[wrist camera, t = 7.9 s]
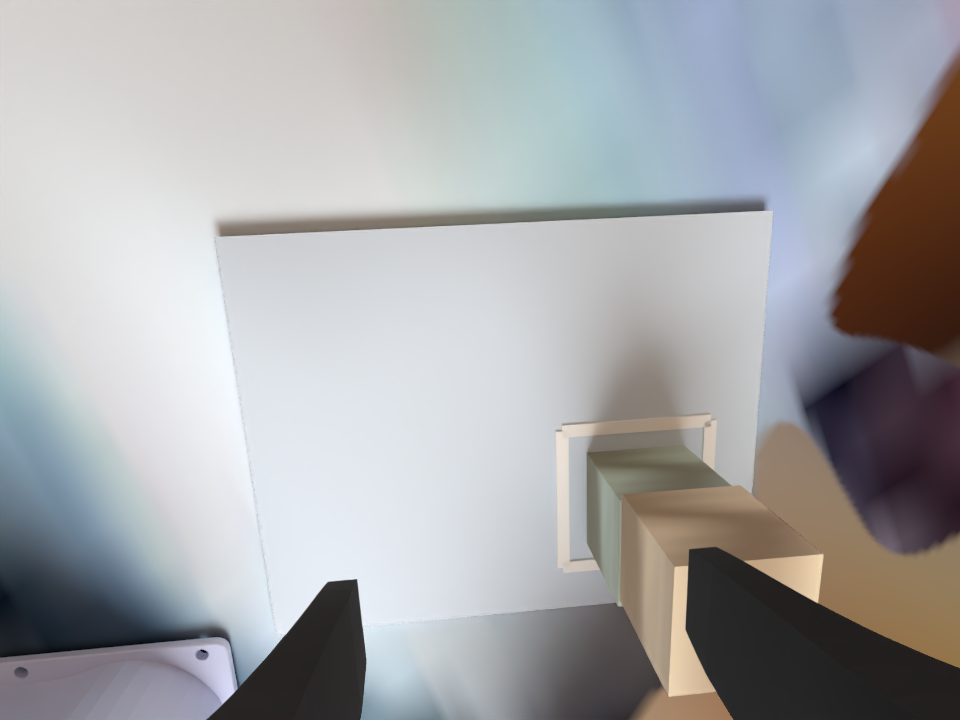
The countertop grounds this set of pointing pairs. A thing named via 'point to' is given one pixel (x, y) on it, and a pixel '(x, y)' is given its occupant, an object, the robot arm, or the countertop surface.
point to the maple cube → (664, 566)
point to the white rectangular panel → (481, 396)
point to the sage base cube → (633, 475)
